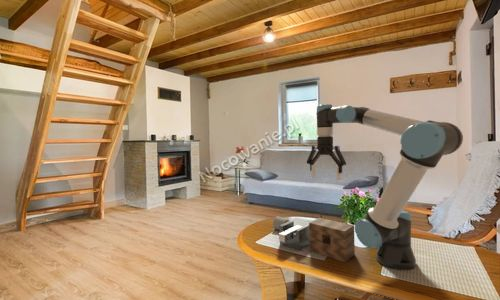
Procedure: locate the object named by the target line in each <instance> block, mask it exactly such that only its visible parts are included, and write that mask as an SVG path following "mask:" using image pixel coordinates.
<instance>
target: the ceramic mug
mask: <svg viewBox="0 0 500 300" xmlns="http://www.w3.org/2000/svg"><path fill="white" fill-rule="evenodd" d="M289 221H290V220H289V219H288V218H285V217H282V216H279V215H277V216H275V218H274V219H273V222H272V227H273V229H275V230H276V231H277V230H279V231H280V227H279V225H282V224H284V223H286V222H289Z"/></svg>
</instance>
